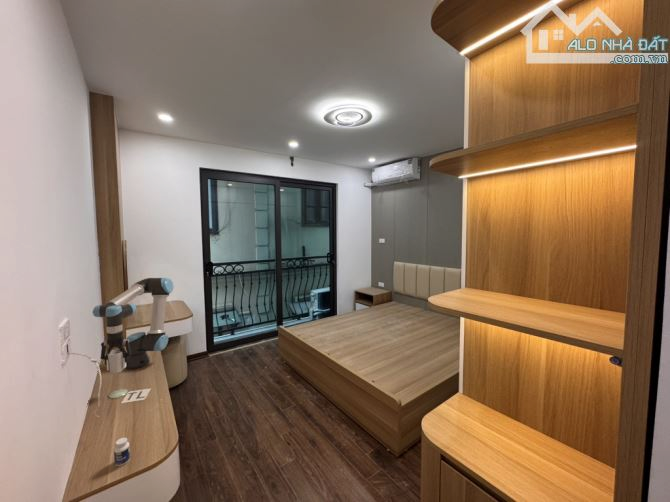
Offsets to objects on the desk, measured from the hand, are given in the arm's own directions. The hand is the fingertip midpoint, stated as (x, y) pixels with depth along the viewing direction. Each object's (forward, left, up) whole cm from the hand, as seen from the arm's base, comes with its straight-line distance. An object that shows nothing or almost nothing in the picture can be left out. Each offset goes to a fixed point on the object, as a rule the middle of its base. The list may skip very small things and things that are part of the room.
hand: (116, 368), depth 168 cm
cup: (0, 0, -2) cm, 2 cm away
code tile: (+5, +11, -17) cm, 20 cm away
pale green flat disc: (0, 0, -17) cm, 17 cm away
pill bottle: (+59, +22, -17) cm, 65 cm away
